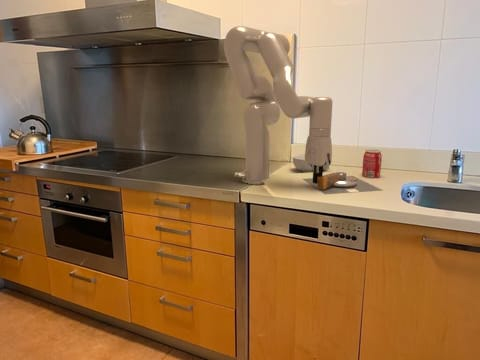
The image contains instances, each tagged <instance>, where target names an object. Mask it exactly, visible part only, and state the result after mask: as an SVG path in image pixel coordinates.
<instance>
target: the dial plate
mask: <svg viewBox="0 0 480 360" xmlns="http://www.w3.org/2000/svg"><path fill="white" fill-rule="evenodd" d="M346 176H347V177H352V178H355V179H356V180H357V185H355V186H351V187H337V186H332V187H329V188H326V189H319V188H317V184H315V183H313V177H310V178H302V180H303V181H304V182H306V183H307V184H309V185H311V186H312V187H314V188H315V189H316V190H318V191H320V192H321V193H323V194H324V195H333V194H334V195H335V194H349V193H350V194H351V193H364V192H365V193H367V192H368V193H369V192H376V191H377V192H380V191H381V192H382V191H384V190H383V189H381V188H380V187H377V186H375V185H373V184H371V183H368V182H367V181H366V180H365V181H364V179H363V180H362V179H361V178H359V177H357V176H354V175H346Z"/></svg>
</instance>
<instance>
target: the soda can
mask: <svg viewBox="0 0 480 360" xmlns="http://www.w3.org/2000/svg"><path fill="white" fill-rule="evenodd" d="M381 152H382V151H381V150H378V149H366V150H365V152H364V154H363V159H362V170H361V176H362V177H363V178H367V179H380V177H381V169H382V163H383V162H382V159H383V155H382V153H381Z"/></svg>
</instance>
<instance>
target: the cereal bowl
mask: <svg viewBox="0 0 480 360" xmlns="http://www.w3.org/2000/svg"><path fill="white" fill-rule="evenodd" d="M292 164H293V166H294V167H295V168H296V169H298V170H299V171H301V172H303V173H305V174H307V173H308V174H309V173H313V172H312V167H311V166H310V165H308V163H307V162H306V161H305V153H297V154H294V155H293V156H292Z"/></svg>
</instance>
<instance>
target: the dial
mask: <svg viewBox="0 0 480 360" xmlns="http://www.w3.org/2000/svg"><path fill="white" fill-rule="evenodd" d="M347 176H348V175H347V173H346V172H345V171H344V172H342V171H341V172H339V171H336V172H331V173H327V174H323V176H319V177H318V183H317V188H319V189H326V188H329V187H332V186H337V187H351V186H355V185H357V180H356V179H355V178H352V177H347Z"/></svg>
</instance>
